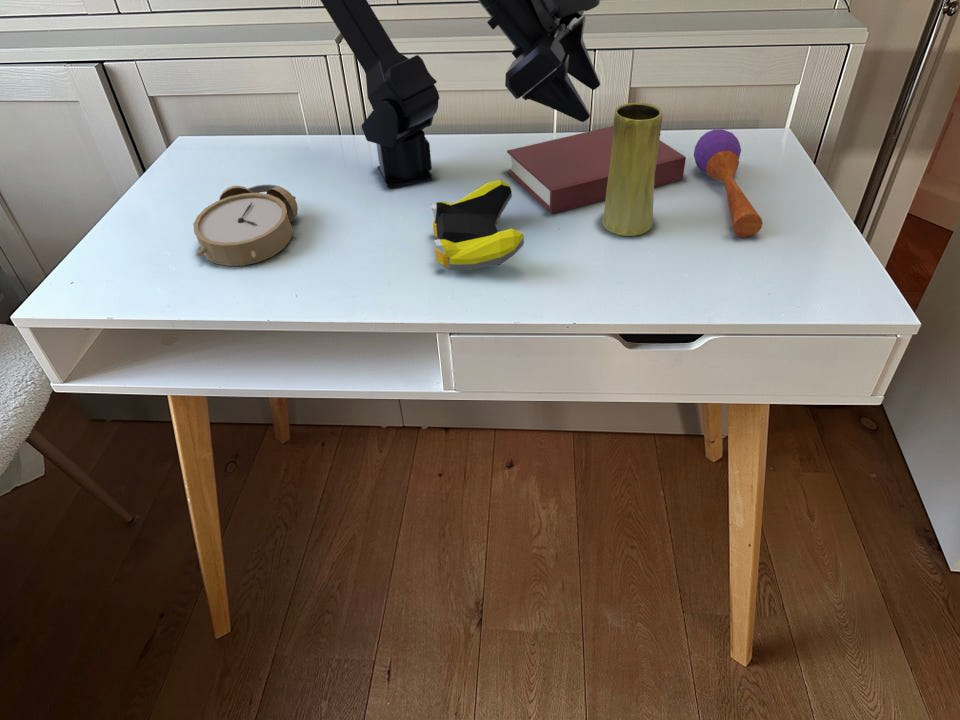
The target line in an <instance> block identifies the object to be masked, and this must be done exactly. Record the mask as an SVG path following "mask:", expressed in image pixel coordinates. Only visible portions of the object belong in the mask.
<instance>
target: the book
mask: <svg viewBox="0 0 960 720" xmlns="http://www.w3.org/2000/svg"><path fill="white" fill-rule="evenodd" d="M613 128H614V125H612V126H607V127H603V128H599V129H595V130H594V129H593V130H590V131H586V132H581V133H577V134H573V135H568V136H565V137H560V138H556V139H550V140H546V141H542V142H537V143H533V144H529V145H525V146H519V147H516V148H511V149H507V150H506V153H507V154H508V155H509V156H510V159H511V160H510V161H511V166H510V167H511V169H509V170H507V174H508V175H509V176H510V177H511V178H512V179H514V180H515V182H516V183H518V184H519V185H520V187H522V188H523V190H525V191H526V192H527V193H528V194H529V195H531V196H532V198H534V199H535V201H537V202H538V203H539V204H540V205H541V206H542V207H543V208H544V209H545V210H546V211H547V212H549V214H550V215H554V214H558V213H561V212H566V211H568V210H573V209H576V208H580V207H584V206H588V205H592V204H596V203H599V202H605V199H606V191H607V183H608V175H609V167H610V158H611V149H612V140H613ZM686 160H687V157H686V156H685V155H684V154H682V153H681V152H679V151H677V150H676V149H674V148H673V147H671V146H670V145H668V144H667V143H665V142H663V141H662V140H661V139H659V147H658V155H657V163H656V170H655V181H654V188H656V187H660V186H665V185H668V184H672V183H676V182H679V181H683V179H684V172H685V166H686Z"/></svg>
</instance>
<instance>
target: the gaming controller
mask: <svg viewBox="0 0 960 720" xmlns="http://www.w3.org/2000/svg"><path fill="white" fill-rule="evenodd" d="M512 191H513V190H512V188H511V185H510V184H509V183H508V182H506V181H504V180H502V179H497V180H496V179H495V180H491V181H488V182H486V183H484V184H483V185H481V186H480V187H478V188H476V189H475V190H473V191H472V192H470V193H469V194H467V195H466V196H464V197H462V198H461V199H459V200H457V201H455V202H447V201H437V202H436V203H432V204H431V205H430V209H431V211H432V214H433V217H434V220H433V223H432V229H433V236H434V237H436V238H437V239H434V240H433V242H434V244H435V248H434V252H435V260H436V262H437V263H438V264H439V265H442V266H444V267H445V268H446V269H447V270H453V271H454V270H456V271H467V270H477V269H478V270H479V269H483V268H489V267H495V266H500V265H502V264H503V263H504V262H506V261H509V259H511V258H512V257H514V255H515V254H516V253H518V251H520V249H521V248H522V247H523V246H524V244H525V237H524V234H523V232H522V231H520V230H517V229H514V228H509V229H505V230H504V229H503V230H501V231H498V229H497V224H498V222H499V219H500V217H501V216H502V214H503V212H504V211H505V209H506V207H507V205H508V204H509V202H510V200H511V199H512V196H513V192H512Z"/></svg>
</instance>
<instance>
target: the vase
mask: <svg viewBox="0 0 960 720" xmlns="http://www.w3.org/2000/svg"><path fill="white" fill-rule="evenodd" d="M662 123H663V111H662V109H661V108H660V107H659V106H656V105H654V104H651V103H647V102H629V103H623V104H621V105H618V106H617V107H616V108H615V110H614V117H613V126H614V128H613V140H612V149H611V158H610V167H609V175H608V183H607V191H606V199H605V200H604V207H603V217H602V219H601V220H602V221H601V223H602V225H603V227H604V229H605V230H607V232H610V233H612V234H614V235H617V236H623V237H636V236H640V235H644V234H645V233H647V232H649V231H650V230H651V228H652V227H653V215H654V200H655V199H654V197H655V187H654V181H655V170H656V163H657V155H658V147H659V140H661V139H660V138H661V133H662V132H661V130H662Z"/></svg>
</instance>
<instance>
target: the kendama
mask: <svg viewBox="0 0 960 720" xmlns="http://www.w3.org/2000/svg"><path fill="white" fill-rule="evenodd" d="M741 153H742V148H741V143H740V141H739V139H738V138H737V136H736V135H735V133H733V132H730V131H728V130H726V129H721V128H719V129H711V130H709V131H706V132H705V133H704V134H703V135H702V136H700V137H699V139H698V141H697V142H696V144H695V147H694V151H693V158H694V161H695V162H694V163H695V164H696V167H697V168H698V169H699V170H700V171H701V172H702V173H704V174H706V175H708V176H709V177H710V178H711V179H714V180H717V181H720V182H722V183H724V187H725V193H726V198H727V204H728V210H729V215H730V221H731V225H732V230H733V233H734V235H736V236H737V237H739V238H750V237H753V236H756V234H758V233H759V232H760V231H761V229H762V227H763V224H764V223H763V219H762V217H761V216H760V215H759V212H757V210H756V209H755V207H754V206H753V204H752V203H751V201H750V200H749V198H748V197H747V196H746V195H745V193H744V191H743V190H742V189H741V187H740V186H739V185H738V183H737V182H736V180H735V176H736V173H737V170H738V168H739V164H740V156H741Z"/></svg>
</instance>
